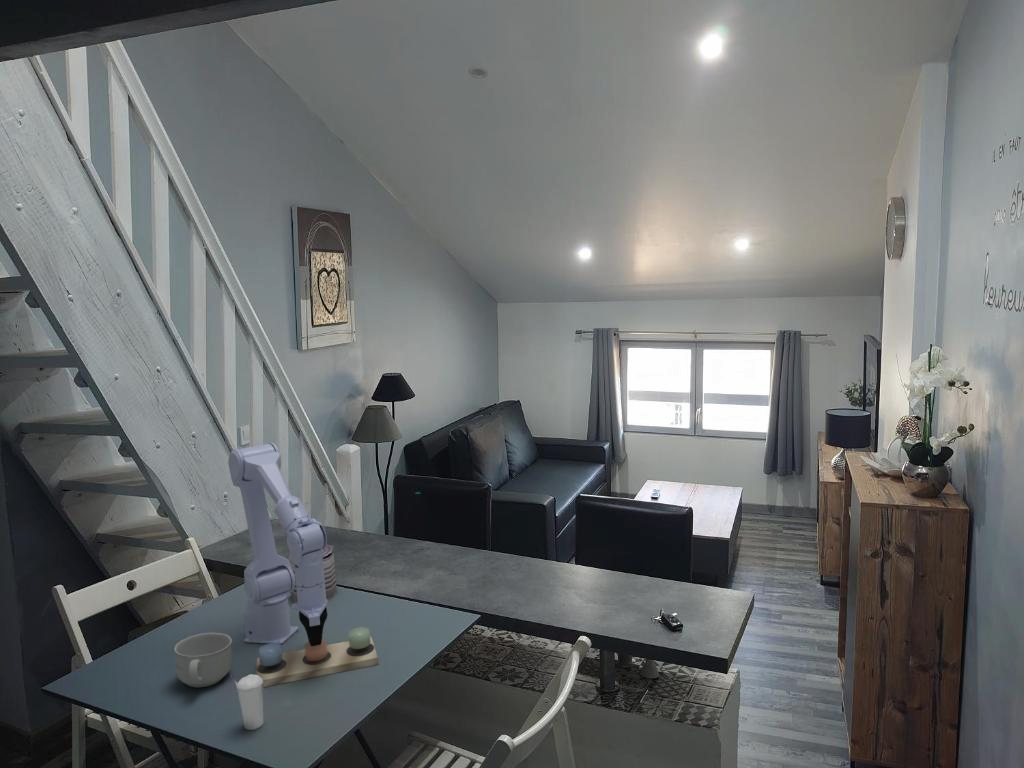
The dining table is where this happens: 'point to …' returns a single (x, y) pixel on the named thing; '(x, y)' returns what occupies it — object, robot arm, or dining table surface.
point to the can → (328, 573)
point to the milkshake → (251, 700)
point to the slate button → (270, 654)
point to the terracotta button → (316, 651)
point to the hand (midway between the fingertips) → (315, 644)
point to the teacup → (203, 659)
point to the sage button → (359, 637)
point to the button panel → (317, 663)
